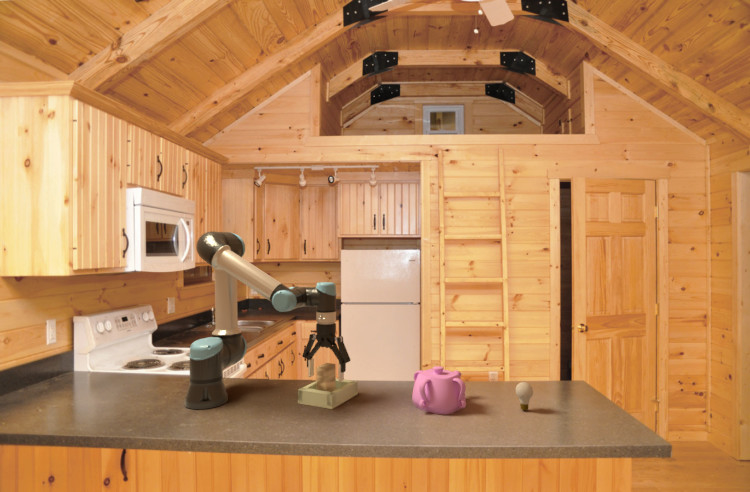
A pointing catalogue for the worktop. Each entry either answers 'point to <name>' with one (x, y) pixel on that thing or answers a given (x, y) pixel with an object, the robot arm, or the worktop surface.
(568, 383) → the worktop surface
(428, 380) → the pink multi-handled pot
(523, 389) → the light bulb
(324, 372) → the wooden stepped block
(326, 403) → the well block
